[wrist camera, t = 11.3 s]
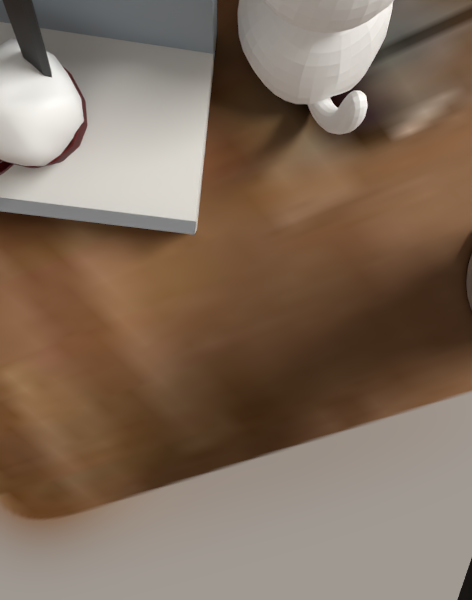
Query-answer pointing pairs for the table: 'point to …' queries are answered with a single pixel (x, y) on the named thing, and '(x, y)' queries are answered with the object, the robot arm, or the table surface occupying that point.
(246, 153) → the table surface
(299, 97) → the cat figurine
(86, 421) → the table surface
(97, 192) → the cleat board
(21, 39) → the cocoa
